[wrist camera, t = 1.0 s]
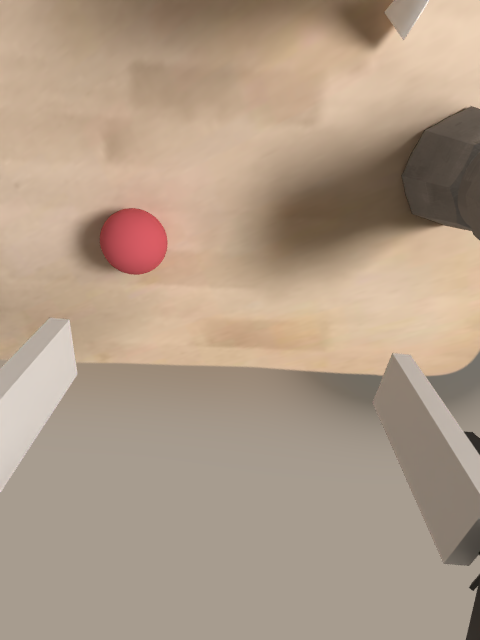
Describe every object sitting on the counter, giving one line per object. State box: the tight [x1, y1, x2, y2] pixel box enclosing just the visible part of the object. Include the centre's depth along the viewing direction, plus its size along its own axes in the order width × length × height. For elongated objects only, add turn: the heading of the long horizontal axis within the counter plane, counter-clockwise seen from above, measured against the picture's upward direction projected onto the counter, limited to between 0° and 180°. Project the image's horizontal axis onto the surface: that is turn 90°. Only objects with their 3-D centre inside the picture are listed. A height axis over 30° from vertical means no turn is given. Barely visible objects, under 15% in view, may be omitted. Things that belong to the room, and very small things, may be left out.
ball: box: [100, 208, 167, 275], centre depth 30 cm, size 6×6×6 cm
